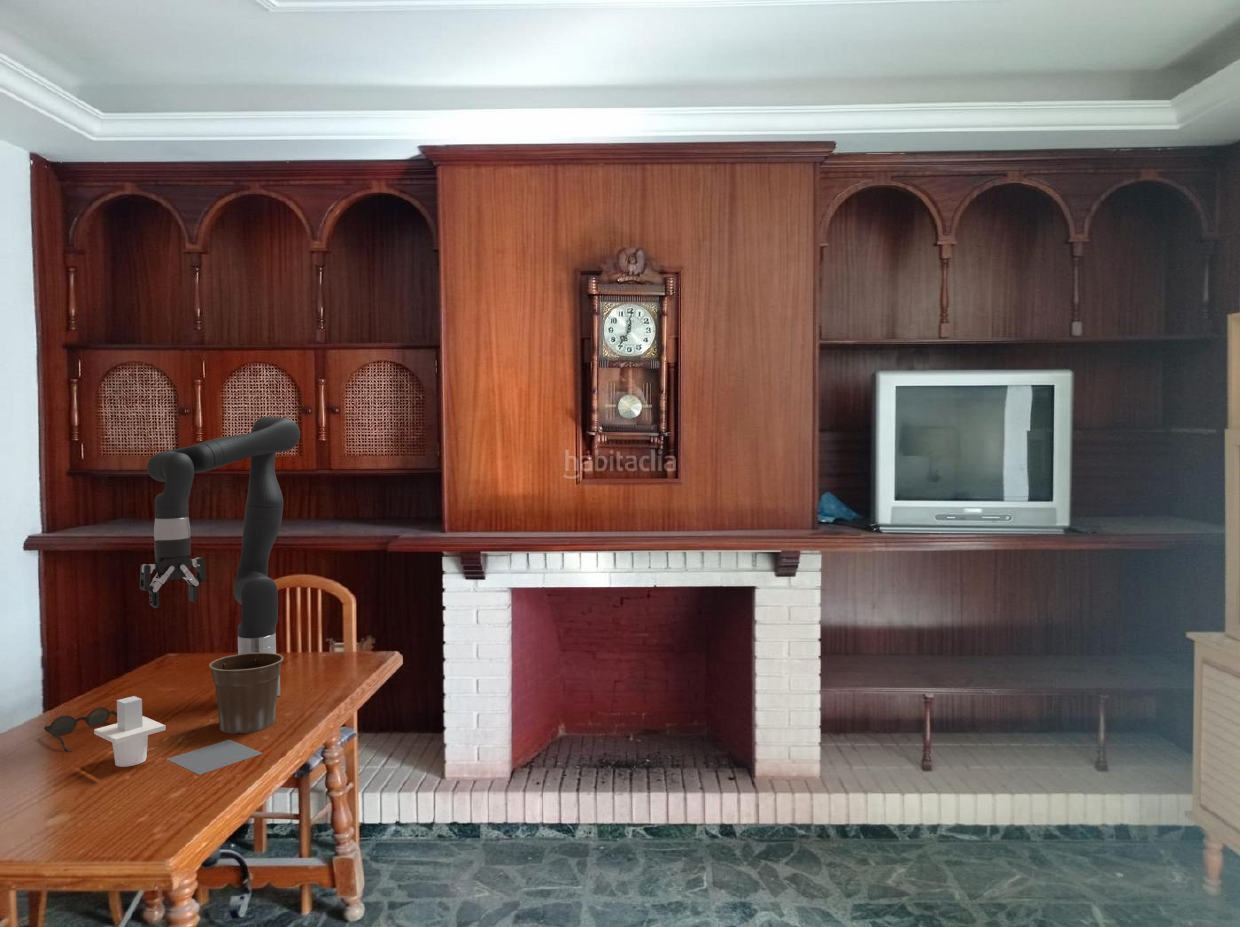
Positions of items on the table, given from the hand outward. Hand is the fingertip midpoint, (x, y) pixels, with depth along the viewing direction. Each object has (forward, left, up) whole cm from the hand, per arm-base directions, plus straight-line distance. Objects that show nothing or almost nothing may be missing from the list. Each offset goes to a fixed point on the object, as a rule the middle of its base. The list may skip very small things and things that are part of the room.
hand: (174, 604), depth 198 cm
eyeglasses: (+14, -12, -31) cm, 36 cm away
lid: (+16, +13, -23) cm, 31 cm away
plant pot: (-11, +12, -30) cm, 34 cm away
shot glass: (+16, +13, -30) cm, 37 cm away
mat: (+4, +25, -30) cm, 39 cm away
